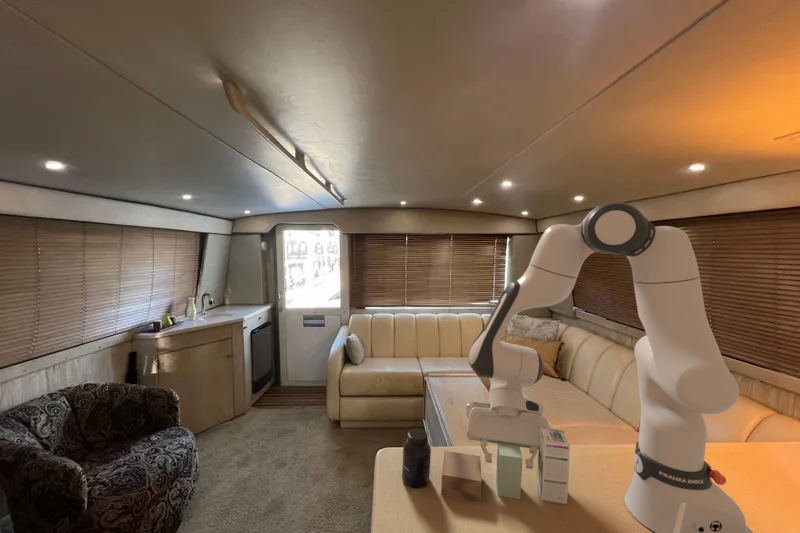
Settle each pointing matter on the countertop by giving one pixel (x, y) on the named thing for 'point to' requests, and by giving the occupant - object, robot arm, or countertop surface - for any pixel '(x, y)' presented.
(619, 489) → the countertop surface
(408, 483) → the supplement bottle
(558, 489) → the syrup box
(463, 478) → the block
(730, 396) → the robot arm
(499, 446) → the sage block
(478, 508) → the countertop surface
